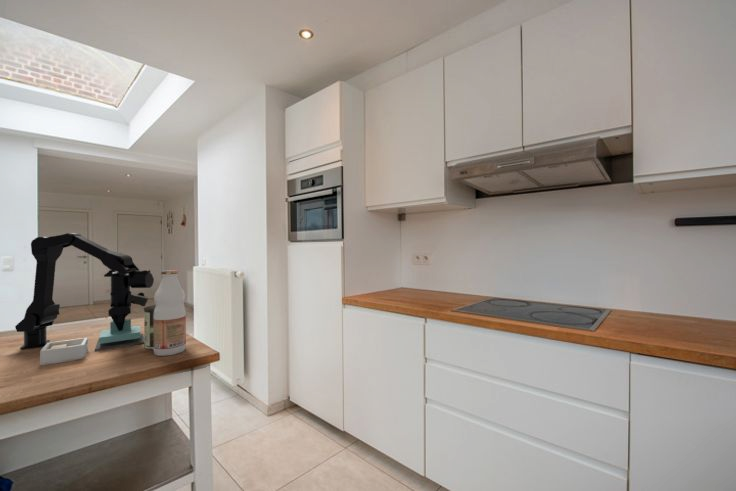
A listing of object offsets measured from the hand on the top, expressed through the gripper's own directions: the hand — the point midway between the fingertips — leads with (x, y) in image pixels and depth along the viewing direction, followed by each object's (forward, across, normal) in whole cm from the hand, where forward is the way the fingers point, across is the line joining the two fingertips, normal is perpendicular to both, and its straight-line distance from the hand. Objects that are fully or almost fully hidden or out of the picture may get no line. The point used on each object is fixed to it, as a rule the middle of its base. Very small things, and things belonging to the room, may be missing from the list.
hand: (120, 329), depth 119 cm
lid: (+3, 0, 0) cm, 3 cm away
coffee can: (+5, -12, -12) cm, 18 cm away
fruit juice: (+5, -23, -14) cm, 27 cm away
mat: (+5, 0, 0) cm, 5 cm away
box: (+5, -9, +14) cm, 17 cm away
